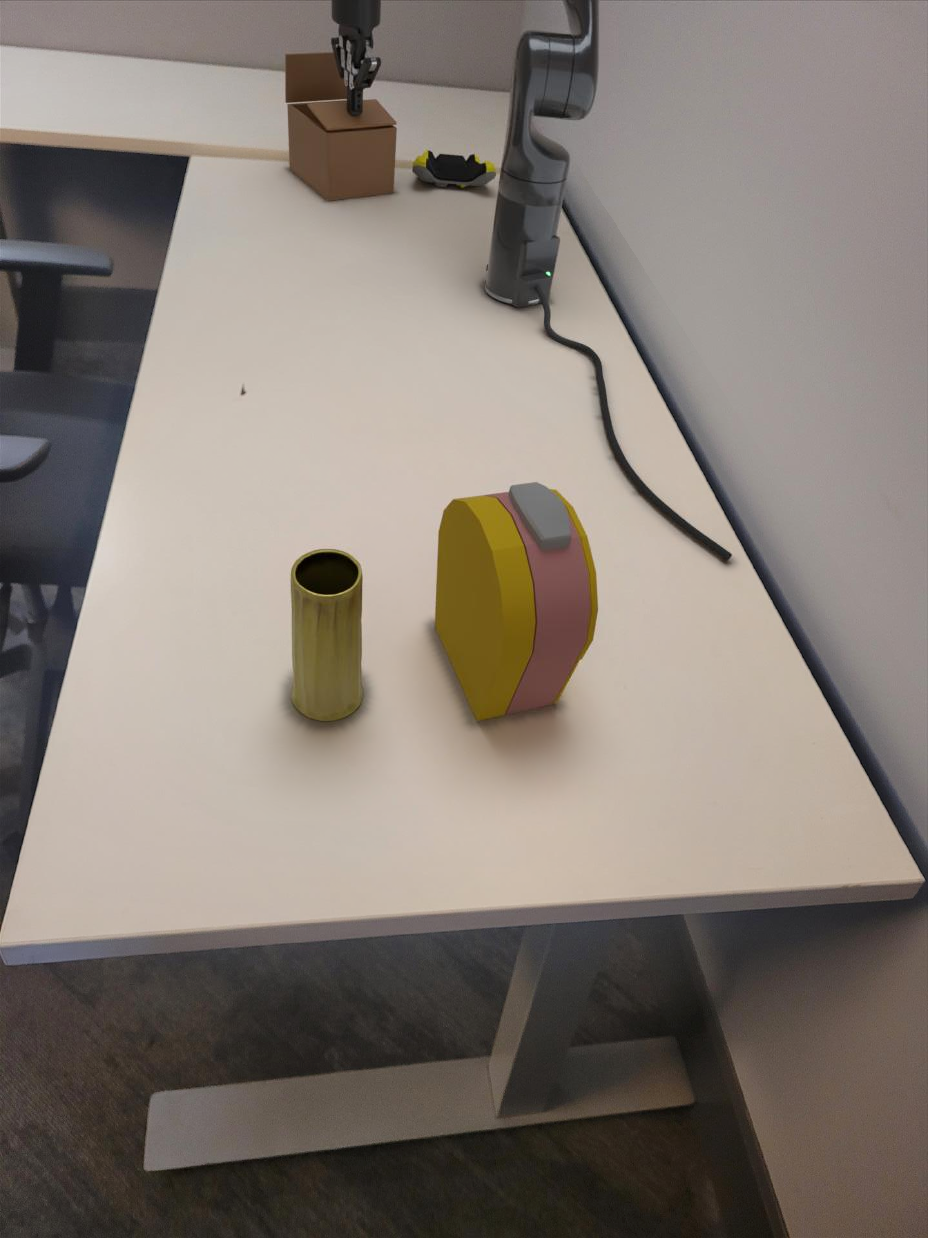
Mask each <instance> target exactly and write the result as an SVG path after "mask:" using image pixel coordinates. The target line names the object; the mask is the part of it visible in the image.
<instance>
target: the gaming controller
mask: <svg viewBox="0 0 928 1238" xmlns="http://www.w3.org/2000/svg"><path fill="white" fill-rule="evenodd" d="M411 172H412V173H413V174H414V175H415V176H416V177H417V178H418V179H419V180H421V181H423V182H425V183H433V185H434V186H435V187H439V188H446V187H447V186H448V185H450V184H451V185H456V186H458V187H459V186H460V188H465V187H468V186H471V187H481V186H485V185H487V184H488V183H489V182H492V181H493V180H495V178H496V177H497V169H496V167H495V164H494V163H493V162H492V161H489V160H485V161H483V162H481V159H480V157H479V156H478V155H476V154H475V153H471V154H470V155H468V157H467V159H466V158H465V157H464V155H461V154H450V153H449V154H447V153H439V154H437V156H436V157H435V155H434V152H433V151H431V150H429V149H427V150H425V151H424V152H423V153H422V155H417V156H416V158H415V159H414V161H413V162H412V169H411Z"/></svg>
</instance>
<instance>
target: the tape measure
mask: <svg viewBox="0 0 928 1238" xmlns="http://www.w3.org/2000/svg"><path fill="white" fill-rule="evenodd" d="M437 533H438V535H437V558H436V559H437V560H436V584H435V586H436V587H435V608H434V609H435V611H434V627H435V630H436V632H437V635H438V637H439V640H440V641H441V644H442V646H443V649H444V650H445V652H446V655H447V657H448V659H449V663H450V664H451V666H452V669H453V671H454V674H455V675H456V678H457V680H458V681H459V682H458V683H459V684H460V687H461V689H462V691H463V694H464V697H465V699H466V700H467V703H468V706H469V707H470V709H471V712H472V714H473V716H474V719H475V721H476V722H480V721H485V720H490V719H494V718H498V717H502V716H506V715H512V714H516V713H517V714H518V713H520V712H525V711H529V710H534V709H539V708H544V707H547V706H548V707H549V706H552V705H557V703H558V701H559V700H560V698H561V696H562V694H563V693H564V690H565V688H566V687H567V685H568V683H569V682H570V679H571V677H572V676H573V674H574V672H575V670H576V668H577V667H578V664H579V662H580V661H581V660H583V658H584V656H585V655H586V653H587V651H588V650H589V648H590V646H591V645H592V644H593V641H594V638H595V631H596V625H597V620H598V612H599V602H598V600H599V597H598V581H597V571H596V567H595V562H594V558H593V554H592V550H591V549H592V548H591V546H590V542H589V538H588V537H589V536H588V535H587V532H586V531H585V529H584V526H583V524H582V523H581V520H580V518H579V516H578V514H577V512H576V510H575V508H574V506H573V505H572V504H571V503H570V502H569V501H568V500H567V499H566V497H564V496H563V495H562V494H561V493H560V492H559V491H558V489H553V488H549V487H548V486H546V485H544V484H542V483H540V482H537V481H536V482H535V481H534V482H525V483H519V484H511V486H510V487H509V490H508V491H504V492H497V493H490V494H489V493H488V494H484V495H483V494H481V495H473V496H466V497H460V498H453V499H452V500H450V502H449V503H448V504H447V506H445V508H444V509H443V511H442V516H441V520H440V524H439V528H438V532H437Z"/></svg>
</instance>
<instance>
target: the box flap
mask: <svg viewBox="0 0 928 1238" xmlns="http://www.w3.org/2000/svg"><path fill="white" fill-rule="evenodd" d="M339 101H340V102H326V101H324V102H325V103H311V102H309V103H310V104H307V106H308V107H309V109H310V110H311V111H312V112H313V113H314V115H315V116H316V117H317V118H318V120H319V121H320V122H321V123H322V125H323V126H324V127H325V128H326V129H327V130H339V129H351V128H363V127H375V126H387V125H393V126H397V123H398V122H397V121H396V120H395V119H394V118H393V116H392V115H391V114H390V113H389V112H388V111H387V110H386V108H385V107H384V106H383V105H382V104H381V103H380V102H379V101H378V99H377V98H372V99H371V98H369V99H363V112H362V114H360V115H352V114H350V113H349V112H348V111H347V101H341V100H339Z"/></svg>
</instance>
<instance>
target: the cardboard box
mask: <svg viewBox="0 0 928 1238" xmlns="http://www.w3.org/2000/svg"><path fill="white" fill-rule="evenodd" d="M284 59H285V60H284V62H285V64H284V71H285V72H284V73H285V74H284V77H285V78H284V80H285V81H284V82H285V83H284V84H285V86H284V87H285V88H284V89H285V90H284V91H285V94H284V95H285V96H284V99H285V103H286V105H287V134H288V164H289V165H288V166H289V170H290V171H291V172H292V173H293V174H295V175H296V176H297V177H298V178H300V179H301V180H302V181H303V182H304V183H305V184H306V185H308V186H309V187H310V188H311V189H313V190H314V191H315V192H316V193H317V194H318V195H320V196H321V197H322V198H324V199H325V200H326V201H327V202H333V201H339V200H340V201H341V200H347V199H355V198H362V197H363V198H365V197H373V196H378V195H379V196H380V195H387V194H394V193H395V191H394V189H395V173H396V172H395V171H396V153H397V134H398V133H397V131H398V130H397V129H398V128H397V127H396V125H387V126H375V127H363V128H351V129H339V130H327V129H326V128H325V127H324V126H323V125H322V123H321V122H320V121H319V120H318V118H317V117H316V116H315V115H314V113H313V112H312V111H311V110H310V109H309V107H308V106H307V104H310V103H325V102H340V101H347V86H345V83H344V78H343V79H341V78H340V76H339V72H338V68H337V64H336V60H335V56H334V52H333V51H322V52H320V51H319V52H297V53H296V52H295V53H285V54H284Z"/></svg>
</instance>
